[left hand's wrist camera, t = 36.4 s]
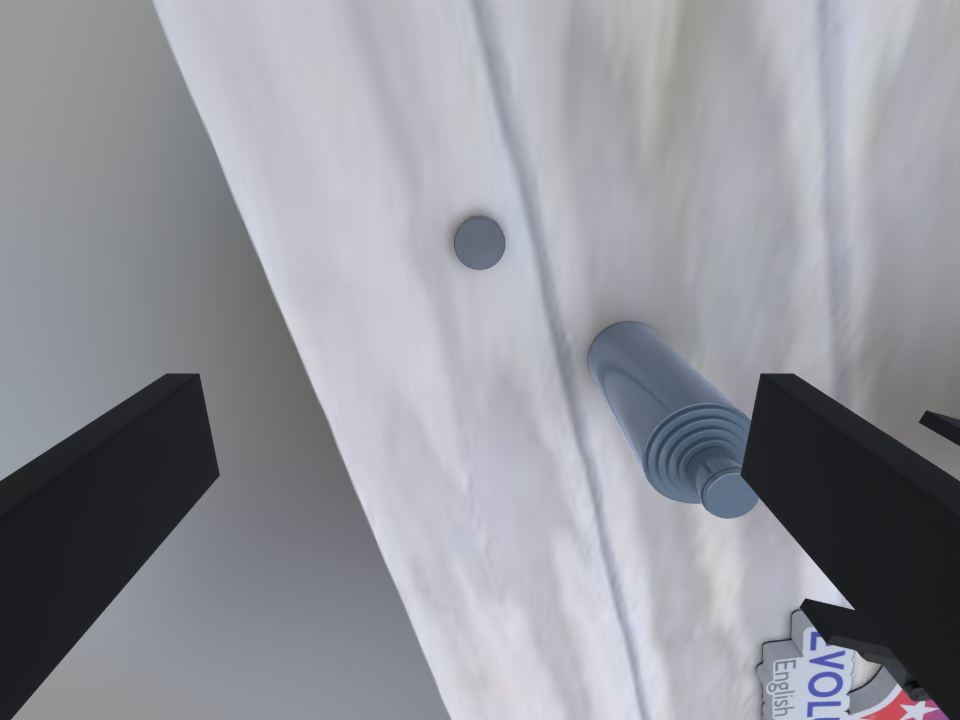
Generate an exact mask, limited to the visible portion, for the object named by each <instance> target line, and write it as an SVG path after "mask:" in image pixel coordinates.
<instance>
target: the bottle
mask: <svg viewBox="0 0 960 720" xmlns="http://www.w3.org/2000/svg"><path fill="white" fill-rule="evenodd" d="M588 369H589V372H590V374H591V376H592V378H593V380H594V382H595V384H596V386H597V388H598V389H599V391H600V393H601V395H602V397H603V399H604V400H605V402H606V404H607V406H608V408H609V410H610V412H611V413H612V415H613V417H614V419H615V421H616V423H617V424H618V426H619V428H620V430H621V432H622V434H623V436H624V437H625V439H626V441H627V443H628V445H629V447H630V448H631V450H632V452H633V454H634V456H635V458H636V459H637V461H638V463H639V465H640V467H641V469H642V471H643V472H644V474H645V476H646V478H647V480H648V481H649V483H650V484H651V485H652V486H653V488H654V489H655V490H657V491H658V492H659V493H661V494H662V495H664V496H665V497H668V498H670V499H672V500H676V501H680V502H684V503H692V504H698V503H702V504H703V506H704V507H705V509H706V510H707V511H709V512H710V513H711V514H713V515H715V516H717V517H720V518H727V519H728V518H736V517H739V516H742V515H744V514H746V513H748V512H749V511H750V510H751V509H752V508H753V507H754V506H755V505H756V503H757V502H758V500H759V497H758V495H757V494H756V493H755V492H754V491H753V490H752V488H751V487H750V486H749V485H748V484H747V483H746V481H745V480H744V479H743V478H742V477H741V476H740V474H741V469H742V464H743V459H744V454H745V449H746V444H747V439H748V434H749V429H750V424H751V421H750V419H749V418H748V417H747V416H746V415H745V414H744V413H743V412H742V411H741V410H740V409H738V408H737V407H736V406H735V405H734V404H733V403H732V402H731V401H730V400H729V399H728V398H726V397H725V396H724V395H723V394H722V393H721V392H720V391H719V390H718V389H717V388H716V387H715V386H713V385H712V384H711V383H710V382H709V381H708V380H707V379H706V378H705V377H704V376H703V375H701V374H700V373H699V372H698V371H697V370H696V369H695V368H694V367H693V366H692V365H691V364H690V363H688V362H687V361H686V360H685V359H684V358H683V357H682V356H681V355H680V354H679V353H678V352H676V351H675V350H674V349H673V348H672V347H671V346H670V345H669V344H668V343H667V342H666V341H665V340H663V339H662V338H661V337H660V336H659V335H658V334H657V333H656V332H655V331H654V330H652V329H651V328H650V327H648V326H646V325H644V324H641V323H637V322H622V323H618V324H615V325H612V326H610V327H608V328H607V329H605V330H604V331H602V332H601V333H600V334H599V335H598V336H597V337H596V339H595V340H594V342H593V343H592V345H591V347H590V350H589V353H588Z"/></svg>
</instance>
